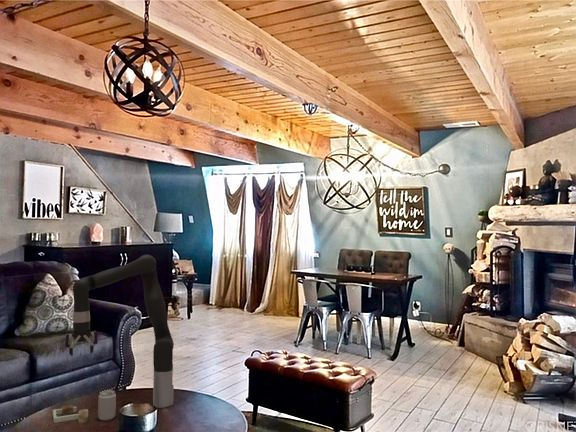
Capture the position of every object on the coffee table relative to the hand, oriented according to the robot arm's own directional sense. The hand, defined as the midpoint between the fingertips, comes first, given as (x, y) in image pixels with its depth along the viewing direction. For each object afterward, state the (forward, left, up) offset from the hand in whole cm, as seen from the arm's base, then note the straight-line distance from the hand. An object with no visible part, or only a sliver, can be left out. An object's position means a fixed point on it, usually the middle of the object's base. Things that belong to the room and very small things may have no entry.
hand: (81, 354), depth 232 cm
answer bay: (+6, +5, -27) cm, 28 cm away
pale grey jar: (-10, +15, -27) cm, 33 cm away
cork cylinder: (0, +15, -27) cm, 31 cm away
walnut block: (+6, +6, -27) cm, 28 cm away
